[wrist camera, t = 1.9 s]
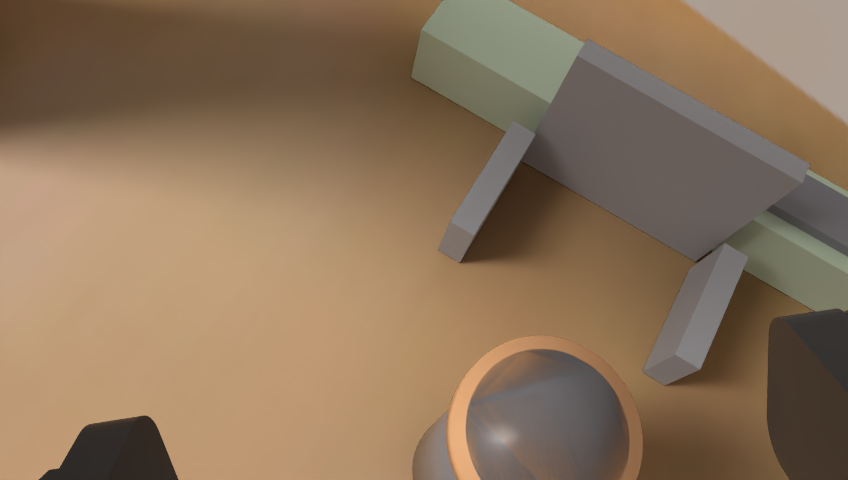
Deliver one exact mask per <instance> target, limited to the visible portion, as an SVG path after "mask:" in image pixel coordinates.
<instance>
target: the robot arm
mask: <svg viewBox="0 0 848 480" xmlns="http://www.w3.org/2000/svg"><path fill="white" fill-rule="evenodd" d="M767 423H768V430H769V435H770V439H771V443H772V446H773V449H774V452H775V454H776V457H777V459H778V461H779V463H780V465H781V467H782V468H783V470H784V471H785V473H786V475H787V476H788V478H789V479H790V480H848V314H847V313H845V312H844V311H842V310H841V309H837V308H835V309H829V310H823V311H816V312H810V313H804V314H797V315H791V316H784V317H778V318H775V319H774V320H773V321H772V322H771V325H770V329H769V346H768V389H767ZM39 480H178V478H177V475H176V473H175V470H174V468H173V465H172V463H171V460H170V458H169V455H168V453H167V450H166V448H165V445H164V443H163V440H162V438H161V435H160V433H159V430H158V428H157V426H156V424H155V423H154V421H153V420H152V419H151V418H150V417H148V416H139V417H132V418H126V419H120V420H113V421H107V422H101V423H94V424H89V425H87V426H85V427H84V428H83V429H82V431H81V432H80V434H79V435H78V437H77V439H76V440H75V442H74V444H73V446H72V447H71V449H70V451H69V453H68V454H67V456H66V458H65V459H64V461H63V463H62V465H61V466H60V468H59V469H53V470H49V471H48V472H47V473H46V474H44V475H43V476H42V477H41V478H40V479H39Z"/></svg>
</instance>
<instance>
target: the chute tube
mask: <svg viewBox="0 0 848 480" xmlns="http://www.w3.org/2000/svg"><path fill="white" fill-rule="evenodd" d="M642 453H643V433H642V427H641V421H640V417H639V414H638V410H637V407H636V405H635V402H634V400H633V398H632V396H631V394H630V392H629V390H628V388H627V387H626V385H625V383H624V382H623V381H622V379H621V378H620V376H619V375H618V374H617V373H616V372H615V371H614V369H613V368H612V367H611V366H610V365H609V364H608V363H607V362H605V361H604V360H603V359H602V358H601V357H600V356H598V355H597V354H595V353H594V352H592V351H591V350H589V349H587V348H585V347H583V346H582V345H580V344H577V343H575V342H572V341H569V340H566V339H562V338H558V337H552V336H528V337H522V338H517V339H514V340H511V341H508V342H506V343H504V344H501V345H499V346H497V347H496V348H494V349H493V350H491V351H490V352H488V353H487V354H486V355H484V356H483V357H482V358H481V359H480V360H479V361H478V362H477V363H476V364H475V365H474V366H473V367H472V368H471V369H470V371H469V372H468V373H467V374H466V375H465V376H464V378H463V379H462V381H461V382H460V384H459V385H458V387H457V389H456V391H455V393H454V395H453V397H452V400H451V403H450V406H449V409H448V410H447V411H446V412H445V413H444V414H443V415H442V416H441V417H440V418H439V419H438V420H437V421H436V422H435V423H434V424H433V425H432V426H431V427H430V428H429V429H428V430H427V431H426V433H425V434H424V435H423V437H422V438H421V440H420V441H419V444H418V446H417V448H416V451H415V454H414V459H413V469H412V470H413V480H637V477H638V474H639V471H640V466H641V462H642Z"/></svg>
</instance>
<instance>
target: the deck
mask: <svg viewBox="0 0 848 480" xmlns="http://www.w3.org/2000/svg"><path fill="white" fill-rule="evenodd" d="M411 78H413V79H415V80H417V81H418V82H420V83H422V84H423V85H425V86H427V87H429V88H430V89H432V90H434V91H436V92H437V93H439V94H441V95H442V96H444V97H446V98H448V99H449V100H451V101H453V102H455V103H456V104H458V105H460V106H461V107H463V108H465V109H467V110H468V111H470V112H472V113H474V114H475V115H477V116H479V117H480V118H482V119H484V120H486V121H487V122H489V123H491V124H493V125H494V126H496V127H498V128H499V129H501V130H503V131H505V132H506V134H505V135H504V137H503V138H502V140H501V141H500V143H499V145H498V146H497V148H496V149H495V151H494V153H493V154H492V156H491V157H490V159H489V161H488V162H487V164H486V165H485V167H484V168H483V170H482V172H481V173H480V175H479V176H478V178H477V180H476V181H475V183H474V184H473V186H472V188H471V189H470V191H469V192H468V194H467V195H466V197H465V199H464V200H463V202H462V203H461V205H460V207H459V208H458V210H457V211H456V213H455V215H454V216H453V218H452V219H451V221H450V223H449V225H448V228H447V230H446V232H445V234H444V237H443V239H442V241H441V244H440V246H439V248H438V250H439V251H440V252H442V253H444V254H445V255H447V256H449V257H450V258H452V259H454V260H455V261H457V262H459V263H460V261H461V260H462V258H463V256H464V255H465V253H466V252H467V250H468V248H469V247H470V245H471V243H472V242H473V240H474V238H475V237H476V235H477V233H478V232H479V230H480V228H481V227H482V225H483V224H484V222H485V220H486V219H487V217H488V215H489V214H490V212H491V210H492V209H493V207H494V205H495V204H496V202H497V200H498V199H499V197H500V196H501V194H502V192H503V191H504V189H505V187H506V186H507V184H508V182H509V181H510V179H511V177H512V176H513V174H514V173H515V171H516V169H517V167H518V166H519V164H520V162H521V161H522V162H524V163H526V164H528V165H529V166H531V167H533V168H535V169H536V170H538V171H540V172H541V173H543V174H545V175H547V176H548V177H550V178H552V179H553V180H555V181H557V182H559V183H560V184H562V185H564V186H565V187H567V188H569V189H571V190H572V191H574V192H576V193H578V194H579V195H581V196H583V197H584V198H586V199H588V200H590V201H591V202H593V203H595V204H596V205H598V206H600V207H602V208H603V209H605V210H607V211H608V212H610V213H612V214H614V215H615V216H617V217H619V218H621V219H622V220H624V221H626V222H627V223H629V224H631V225H633V226H634V227H636V228H638V229H639V230H641V231H643V232H645V233H646V234H648V235H650V236H651V237H653V238H655V239H657V240H658V241H660V242H662V243H664V244H665V245H667V246H669V247H670V248H672V249H674V250H676V251H677V252H679V253H681V254H682V255H684V256H686V257H688V258H689V259H691V260H693V261H695V262H696V261H697V260H698V259H700V258H701V257H702V256H704V255H705V254H706V253H708V252H709V251H712V253H711V254H709V255H708V256H707V257H705V258H704V259H702V260H701V261H700V262H698V263H697V264H696V265H694V266H693V267H691V268H690V269H689V271H688V273H687V276H686V278H685V280H684V282H683V284H682V286H681V289H680V291H679V293H678V295H677V297H676V299H675V302H674V304H673V306H672V308H671V310H670V312H669V315H668V317H667V319H666V321H665V323H664V325H663V327H662V330H661V332H660V334H659V336H658V338H657V340H656V343H655V345H654V347H653V349H652V351H651V353H650V356H649V358H648V360H647V362H646V364H645V366H644V369H643V371H642V372H643V373H645V374H646V375H648V376H650V377H651V378H653V379H655V380H657V381H658V382H660V383H662V384H663V385H667V384H669V383H672V382H674V381H676V380H678V379H680V378H683V377H685V376H687V375H689V374H692V373H694V372H696V371H698V370H700V369H701V367H702V364H703V362H704V360H705V357H706V355H707V353H708V350H709V348H710V346H711V343H712V341H713V339H714V336H715V334H716V332H717V329H718V327H719V325H720V322H721V320H722V318H723V315H724V313H725V311H726V308H727V306H728V304H729V301H730V299H731V297H732V294H733V292H734V290H735V287H736V285H737V283H738V280H739V278H740V276H741V273H742V271H743V270H745V271H746V272H748V273H750V274H752V275H753V276H755V277H757V278H758V279H760V280H762V281H764V282H765V283H767V284H769V285H771V286H772V287H774V288H776V289H777V290H779V291H781V292H783V293H784V294H786V295H788V296H790V297H791V298H793V299H795V300H796V301H798V302H800V303H802V304H803V305H805V306H807V307H809V308H810V309H812V310H814V311H815V312H816V311H823V310H829V309H835V308H837V309H841V310H842V311H844V312H845V311H847V310H848V191H846V190H844V189H842V188H841V187H839V186H837V185H835V184H833V183H832V182H830V181H828V180H826V179H825V178H823V177H821V176H819V175H817V174H816V173H814V172H812V171H810V170H809V169H808V168H809V166H810V164H809V163H808V162H806V161H804V160H802V159H800V158H799V157H797V156H795V155H793V154H792V153H790V152H788V151H786V150H785V149H783V148H781V147H779V146H777V145H776V144H774V143H772V142H770V141H769V140H767V139H765V138H763V137H761V136H760V135H758V134H756V133H754V132H753V131H751V130H749V129H747V128H745V127H744V126H742V125H740V124H738V123H737V122H735V121H733V120H731V119H730V118H728V117H726V116H724V115H722V114H721V113H719V112H717V111H715V110H714V109H712V108H710V107H708V106H706V105H705V104H703V103H701V102H699V101H698V100H696V99H694V98H692V97H690V96H689V95H687V94H685V93H683V92H682V91H680V90H678V89H676V88H675V87H673V86H671V85H669V84H667V83H666V82H664V81H662V80H660V79H659V78H657V77H655V76H653V75H651V74H650V73H648V72H646V71H644V70H643V69H641V68H639V67H637V66H635V65H634V64H632V63H630V62H628V61H627V60H625V59H623V58H621V57H620V56H618V55H616V54H614V53H612V52H611V51H609V50H607V49H605V48H604V47H602V46H600V45H598V44H596V43H595V42H593V41H591V40H589V39H588V38H587V40H586V42H585V43H584V42H582V41H580V40H578V39H576V38H575V37H573V36H571V35H569V34H568V33H566V32H564V31H562V30H561V29H559V28H557V27H555V26H553V25H552V24H550V23H548V22H546V21H545V20H543V19H541V18H539V17H537V16H536V15H534V14H532V13H530V12H529V11H527V10H525V9H523V8H522V7H520V6H518V5H516V4H514V3H513V2H511V1H509V0H443V1H442V2H441V4H440V5H439V6H438V8H437V9H436V10H435V12H434V13H433V14H432V16H431V17H430V18H429V20H428V21H427V22H426V24H425V25H424V27H423V28H422V29H421V33H420V38H419V42H418V47H417V52H416V56H415V61H414V65H413V70H412V74H411Z"/></svg>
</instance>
